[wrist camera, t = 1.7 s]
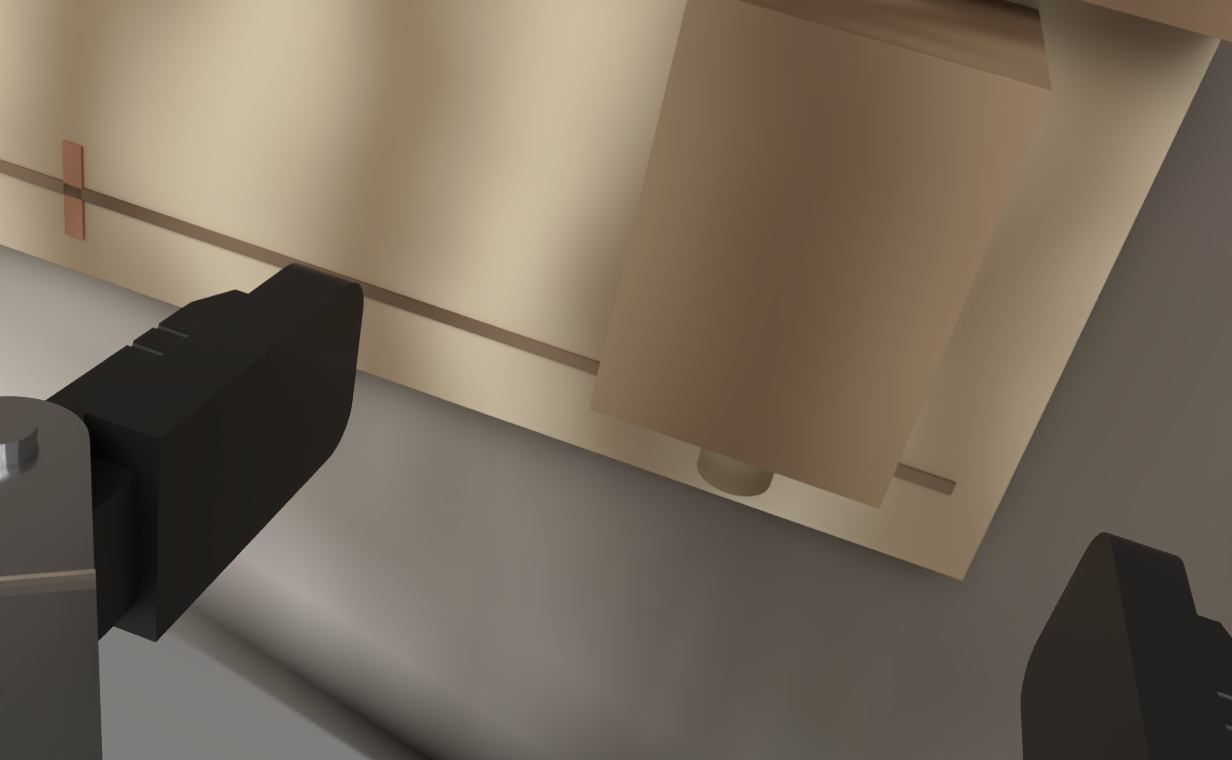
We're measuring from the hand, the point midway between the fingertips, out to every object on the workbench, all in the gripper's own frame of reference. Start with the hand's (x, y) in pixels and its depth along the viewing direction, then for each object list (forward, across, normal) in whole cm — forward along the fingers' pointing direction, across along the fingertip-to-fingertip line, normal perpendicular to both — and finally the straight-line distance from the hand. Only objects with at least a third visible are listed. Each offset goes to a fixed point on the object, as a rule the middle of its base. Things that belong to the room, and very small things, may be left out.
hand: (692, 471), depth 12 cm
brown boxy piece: (+12, 0, +2) cm, 12 cm away
